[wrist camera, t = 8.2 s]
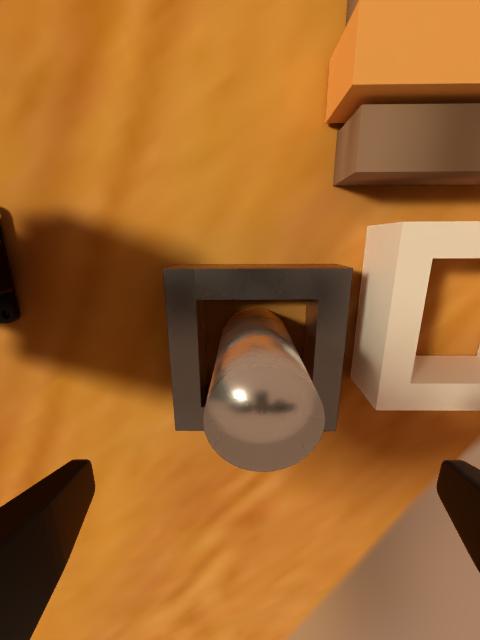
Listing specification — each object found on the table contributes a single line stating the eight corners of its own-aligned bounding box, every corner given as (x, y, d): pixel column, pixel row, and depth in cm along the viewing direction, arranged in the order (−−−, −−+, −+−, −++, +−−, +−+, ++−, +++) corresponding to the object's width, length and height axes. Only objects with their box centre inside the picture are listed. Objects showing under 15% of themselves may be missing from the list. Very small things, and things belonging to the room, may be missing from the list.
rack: (350, 377, 18) (375, 410, 14) (367, 226, 15) (403, 221, 12) (495, 377, 17) (556, 410, 14) (536, 225, 15) (622, 220, 12)
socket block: (184, 405, 18) (175, 430, 16) (174, 264, 16) (162, 268, 13) (323, 405, 18) (336, 431, 16) (336, 264, 16) (352, 268, 13)
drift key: (325, 123, 14) (352, 84, 10) (329, 60, 13) (360, -3, 10) (470, 121, 14) (546, 82, 10) (482, 58, 13) (567, -6, 10)
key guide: (333, 185, 15) (355, 172, 12) (348, -13, 12) (381, -89, 10) (512, 184, 14) (579, 170, 12) (559, -16, 12) (656, -94, 9)
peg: (222, 370, 18) (205, 471, 10) (220, 307, 16) (200, 366, 9) (286, 370, 17) (320, 472, 10) (289, 307, 16) (329, 366, 9)
